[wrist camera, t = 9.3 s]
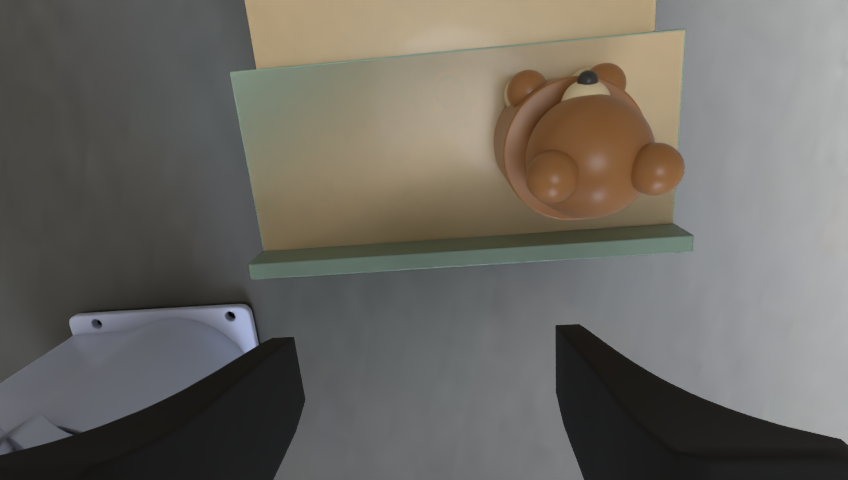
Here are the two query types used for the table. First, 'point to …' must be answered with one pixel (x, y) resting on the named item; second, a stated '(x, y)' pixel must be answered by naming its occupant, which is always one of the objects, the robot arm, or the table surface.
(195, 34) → the table surface
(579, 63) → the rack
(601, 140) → the teddy bear
